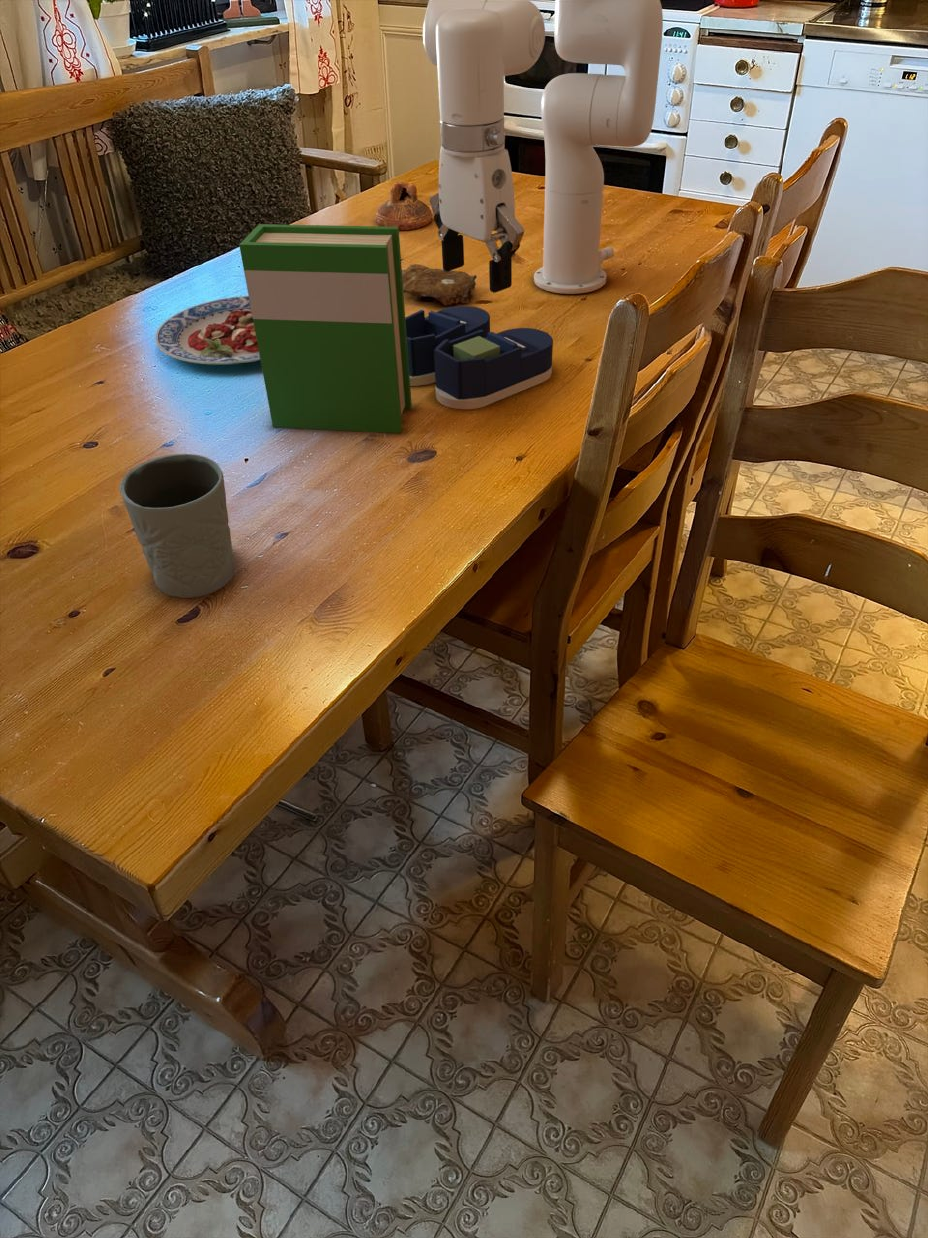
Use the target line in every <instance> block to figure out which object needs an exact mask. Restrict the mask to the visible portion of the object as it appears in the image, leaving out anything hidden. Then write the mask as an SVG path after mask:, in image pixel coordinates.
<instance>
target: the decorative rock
mask: <svg viewBox="0 0 928 1238" xmlns="http://www.w3.org/2000/svg"><path fill="white" fill-rule="evenodd" d="M476 279H477V275H476V274H473V275H469V273H468V272H466V271H462V270H461V271H457V270H451V271H448V272H447V271H444V270H443V269H440V268H433V267H429V266H426V265H424V264H417V263H414V264H410V265H409V266H408V267H407V268H406V269H402V280H403V293H408V294H411V295H412V296H417V297H419V298H422V299H423V298H424V297H430V298H433V299H434V300H437V301H438V302H441V304H443V305H444V306H448V305H449V306H452V305H454V304H455V305H456V304H459V303H461V304H462V305H466V304H468V303H469V300H471V299H472V292H473V291H474V290H475V288H476V285H477V282H476Z"/></svg>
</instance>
